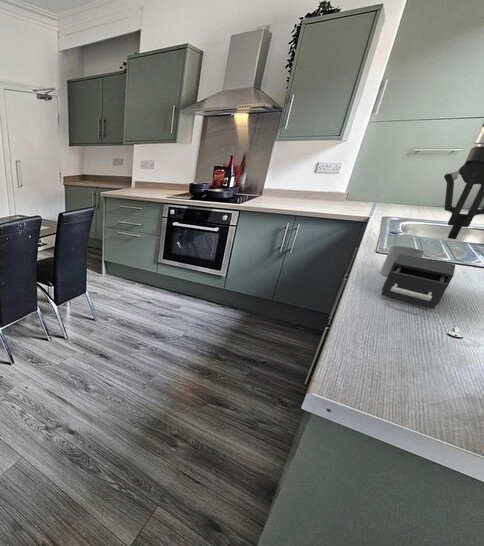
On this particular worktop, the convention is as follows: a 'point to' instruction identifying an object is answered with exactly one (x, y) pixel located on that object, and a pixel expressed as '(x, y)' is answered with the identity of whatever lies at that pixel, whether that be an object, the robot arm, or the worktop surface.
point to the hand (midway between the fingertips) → (451, 237)
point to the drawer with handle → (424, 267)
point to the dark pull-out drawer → (415, 287)
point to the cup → (394, 254)
